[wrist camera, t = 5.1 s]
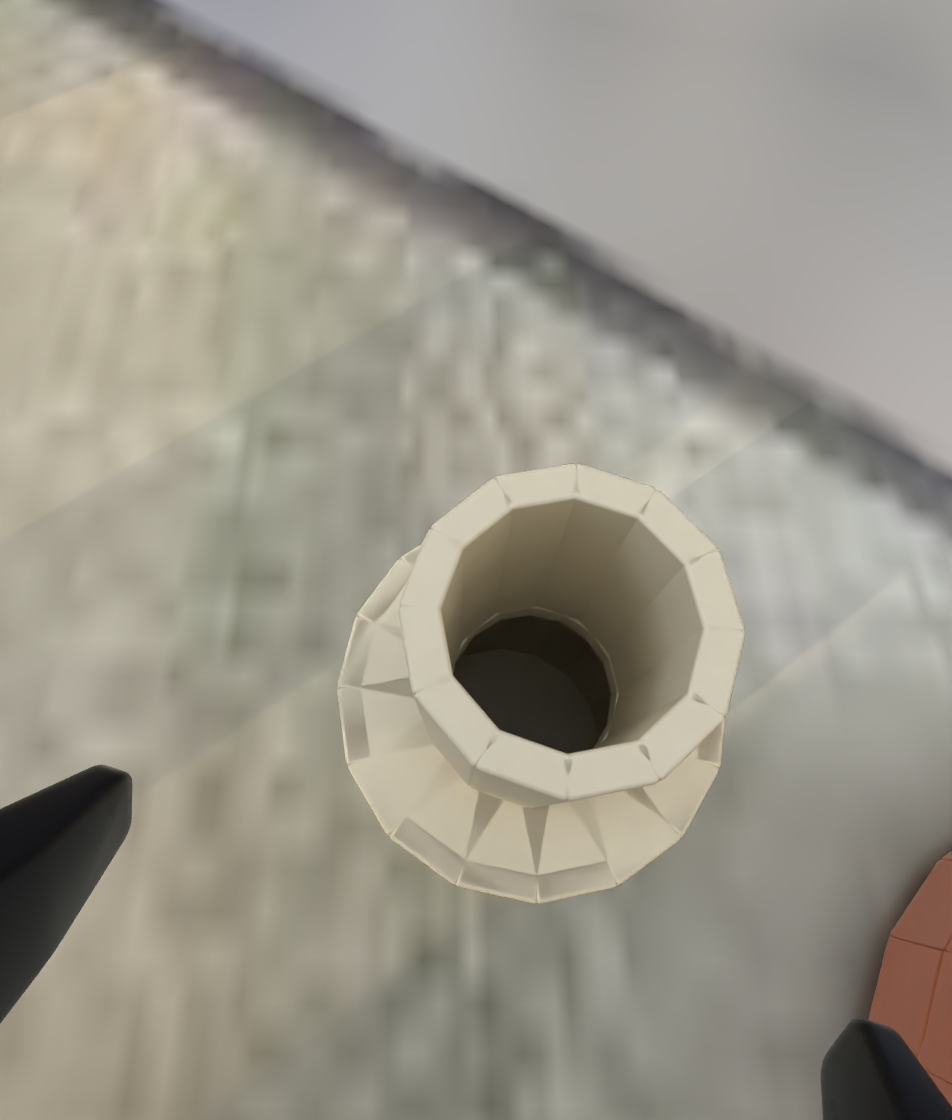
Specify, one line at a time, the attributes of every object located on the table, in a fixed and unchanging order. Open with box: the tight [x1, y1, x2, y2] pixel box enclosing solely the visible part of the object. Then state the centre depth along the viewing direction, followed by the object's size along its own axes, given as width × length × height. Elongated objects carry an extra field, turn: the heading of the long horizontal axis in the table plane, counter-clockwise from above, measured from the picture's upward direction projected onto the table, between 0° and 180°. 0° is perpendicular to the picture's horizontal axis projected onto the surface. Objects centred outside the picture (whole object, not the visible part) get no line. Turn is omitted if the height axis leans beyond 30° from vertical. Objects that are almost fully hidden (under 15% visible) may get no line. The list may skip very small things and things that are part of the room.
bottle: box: [337, 463, 745, 904], centre depth 13 cm, size 6×6×13 cm
